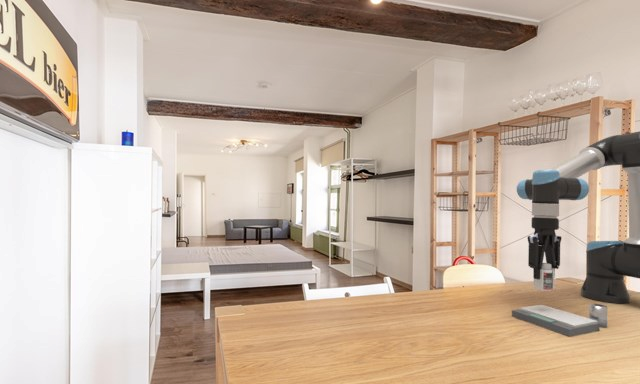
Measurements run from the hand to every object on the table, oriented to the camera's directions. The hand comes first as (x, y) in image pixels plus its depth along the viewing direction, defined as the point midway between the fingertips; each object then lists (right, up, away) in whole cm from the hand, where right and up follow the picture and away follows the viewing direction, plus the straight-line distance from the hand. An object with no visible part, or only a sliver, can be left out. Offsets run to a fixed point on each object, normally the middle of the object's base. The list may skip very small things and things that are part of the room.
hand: (544, 288), depth 113 cm
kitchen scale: (0, -10, -4) cm, 11 cm away
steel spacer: (+13, -10, -5) cm, 18 cm away
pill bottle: (0, -1, 0) cm, 1 cm away
